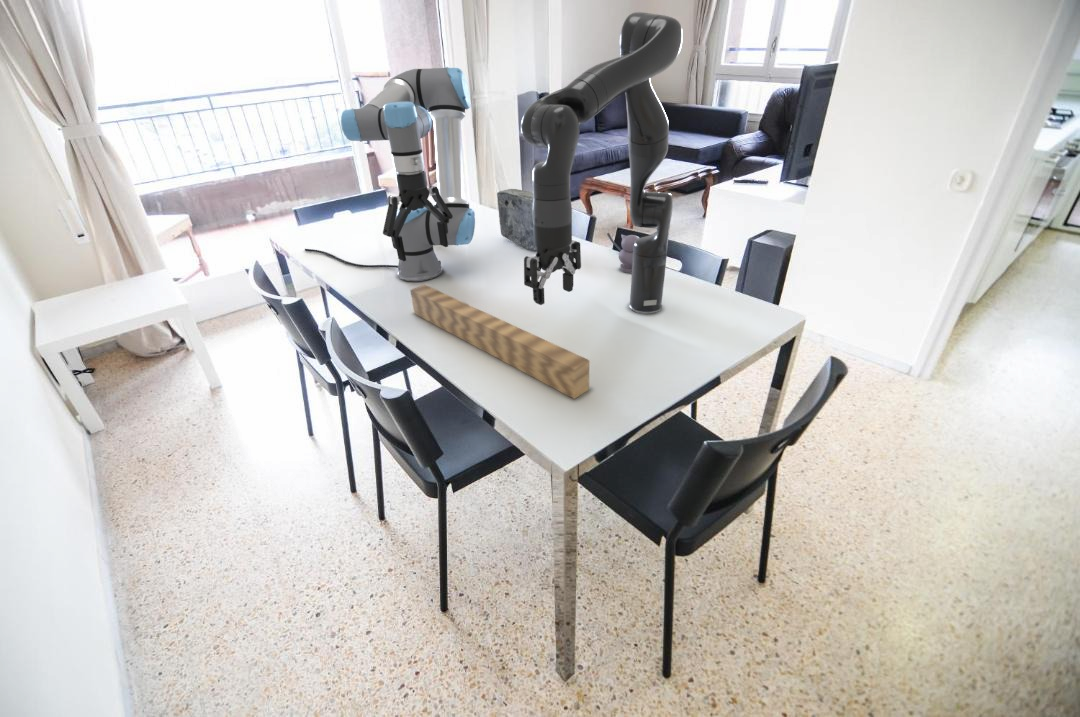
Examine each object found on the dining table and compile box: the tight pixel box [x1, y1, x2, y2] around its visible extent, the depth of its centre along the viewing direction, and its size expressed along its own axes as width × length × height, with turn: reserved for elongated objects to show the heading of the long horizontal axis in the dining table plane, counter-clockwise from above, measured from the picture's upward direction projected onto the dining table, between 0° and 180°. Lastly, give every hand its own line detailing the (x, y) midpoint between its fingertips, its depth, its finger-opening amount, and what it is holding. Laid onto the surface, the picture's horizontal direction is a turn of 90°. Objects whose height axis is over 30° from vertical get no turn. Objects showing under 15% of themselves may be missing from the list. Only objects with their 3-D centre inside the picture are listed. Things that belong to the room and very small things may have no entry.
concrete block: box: [496, 188, 537, 251], centre depth 192 cm, size 27×9×20 cm, turn 36°
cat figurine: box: [618, 233, 640, 274], centre depth 170 cm, size 8×8×12 cm
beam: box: [409, 284, 590, 400], centre depth 128 cm, size 64×5×8 cm, turn 45°
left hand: (423, 252), depth 136 cm, fingers open, 13 cm apart
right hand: (554, 296), depth 104 cm, fingers open, 8 cm apart
